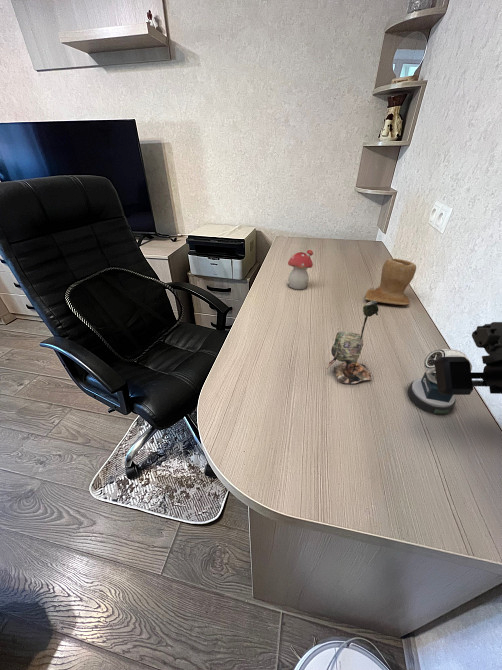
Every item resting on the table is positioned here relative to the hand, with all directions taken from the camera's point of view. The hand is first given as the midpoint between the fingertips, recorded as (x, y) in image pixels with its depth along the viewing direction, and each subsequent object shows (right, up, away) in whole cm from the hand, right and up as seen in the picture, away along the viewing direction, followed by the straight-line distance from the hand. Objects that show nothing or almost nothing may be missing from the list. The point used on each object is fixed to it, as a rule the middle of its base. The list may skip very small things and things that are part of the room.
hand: (459, 377), depth 54 cm
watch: (0, -4, +8) cm, 9 cm away
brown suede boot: (+9, +21, +49) cm, 54 cm away
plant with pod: (-16, -2, +16) cm, 23 cm away
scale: (0, -6, +9) cm, 11 cm away
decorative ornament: (-22, +28, +58) cm, 68 cm away
